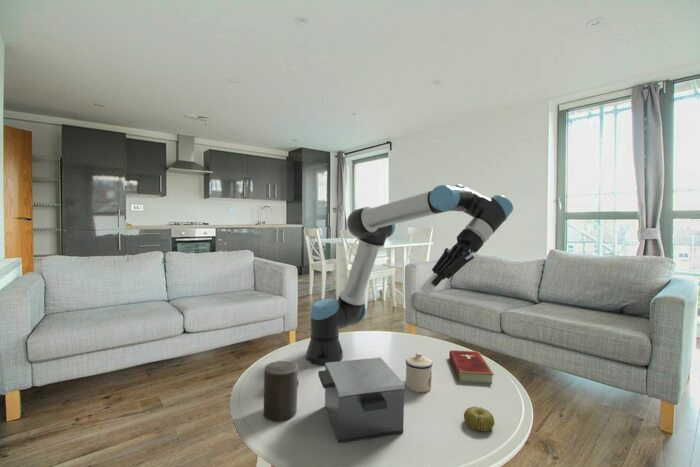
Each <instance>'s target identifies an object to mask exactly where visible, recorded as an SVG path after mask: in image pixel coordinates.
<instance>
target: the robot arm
mask: <svg viewBox="0 0 700 467" xmlns="http://www.w3.org/2000/svg"><path fill="white" fill-rule="evenodd" d="M513 211H514V205H513V203H512V202H511V200H510V199H509V198H508V197H506V196H504V195H501V194H500V195H499V194H495V195H493V196H492V197H490V198H489V197H488V196H485V195H482V194H481V193H479V192H476V191H475V190H473V189H471V188H469V187H468V186H466V185H465V186H464V185H463V184H455V185H451V184H440V185H436V186H435V187H434V188H433V189H432V190H429V191H425V192H422V193H418V194H415V195H412V196H409V197H405V198H402V199H398V200H395V201H392V202H388V203H385V204H382V205H381V204H380V205H378V206H375V207H372V206H364V207H361V208H357V209H354V210H353V211H352V212H351V213H350V214H349V215H348V217H347V220H346V227H347V229H348V231H349V233H350V234H351V235H352V236H354V237H355V238H357V240H358V241H359V242H358V246H357V249H356V253H355V255H354V258H353V262H352V265H351V268H350V271H349V274H348V278H347V280H346V284H345V288H344V290H342V291H340V292H339V294H338V297H337V299H335V298H326V299H324V298H323V299H320V300H319V299H318V300H317V301H315V302H313V304H311V307H310V308H311V309H310V314H309V315H310V340H309V343H308V347H307V350H306V353H305V354H306V355H305V358H306V360H307V362H309V363H310V364H314V365H320V366H321V365H322V366H325V363H329V362H339V361H343V355H344V354H343V348H342V345H341V341H340V339H339V337H340V336H339V335H340V334H339V333H340V332H339V331H340V330H341V329H343V328H347V327H351V326H355V325H357V324H359V323H361V322H362V321H363V320H364V319H365V318H366V315H367V307H366V300H365V298H364V294H365V291H366V288H367V285H368V282H369V280H370V276H371V273H372V270H373V267H374V265H375V261H376V259H377V255H378V253H379V250H380V248H382V247H384V246H385V242H386V240H387V238H389V237H391V236H392V235H393V234H394V232H395V229H396V224H399V223H405V222H408V221H413V220H417V219H421V218H424V217H428V216H433V215H437V214H441V213H442V214H444V213H446V212H463V213H465V214H466V215H469V216H470V217H471V218H472V217H473V218H472V219H471V221H470V222H468V223H467V224H466V226H465V227H464V229H462V230H461V232H459V233H458V235H457V236H456V241H457V242H456V243H455V244H454V245H453V246H452V247H451V248H448V247H446V248H445V249H444V250H443V252H442V254H441V256H440V257H439V259H438V260H437V261H436V263H435V264H434V265H433V268H431V271H432V272H433V274H431V275H430V277H428V279H427V280H426V281H425V282H424V283H423V285H422V286H421V287H420V288H419V289H420V290H421V292H423V294H425V295H426V296H430V294H431V293H432V292H433V291H434V290H435V289H436V287H437V286H438V285H439V284H440V283H441V281H442V280H445V279H448V280H449V279H451V277H453V276H454V275H455V274H456V273H457V272H459V271H460V270H461V269H462V268H463V267H464V266H465V265H467V263H469V262H471V261H473V260H474V258H475V256H473V254H476V253H478V251H479V250H481V249H482V247H483V246H484V244H485V243H486V242H487V241H488V240H490V238H491V236H492V235H493V234H494V233H495V232H496V231H497V230H498V228H500V227H501V226H502V224H503V223H504V222H505V221H507V219H508V217H509V216H510V215H511V214H512V212H513Z"/></svg>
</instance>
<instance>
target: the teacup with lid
mask: <svg viewBox="0 0 700 467" xmlns="http://www.w3.org/2000/svg"><path fill="white" fill-rule="evenodd" d="M432 368H433V361H432V360H431V359H430V358H428V357H426V356H424V355H423V354H422V353H421V352H416V354H415V355H411V356H408V357H407V358H406V359H405V386H406V388H407V389H408V390H410V391H412V392H415V393H427V392H429V391H430V390H432V374H433V373H432V372H433V370H432Z"/></svg>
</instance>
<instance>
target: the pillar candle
mask: <svg viewBox="0 0 700 467" xmlns="http://www.w3.org/2000/svg"><path fill="white" fill-rule="evenodd" d="M298 367H299V366H298V364H296V363H295V362H292V361H287V360H277V361H273V362H270V363H268V364H266V365H265V367H264V373H263V374H264V379H263V383H264V384H263V417H264V418H265V419H266V420H268V421H270V422H275V423H277V422H286V421H289V420H291V419H292V418H294V417H296V415H297V411H298V410H297V408H298V404H297V403H298V387H297V378H298Z"/></svg>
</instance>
